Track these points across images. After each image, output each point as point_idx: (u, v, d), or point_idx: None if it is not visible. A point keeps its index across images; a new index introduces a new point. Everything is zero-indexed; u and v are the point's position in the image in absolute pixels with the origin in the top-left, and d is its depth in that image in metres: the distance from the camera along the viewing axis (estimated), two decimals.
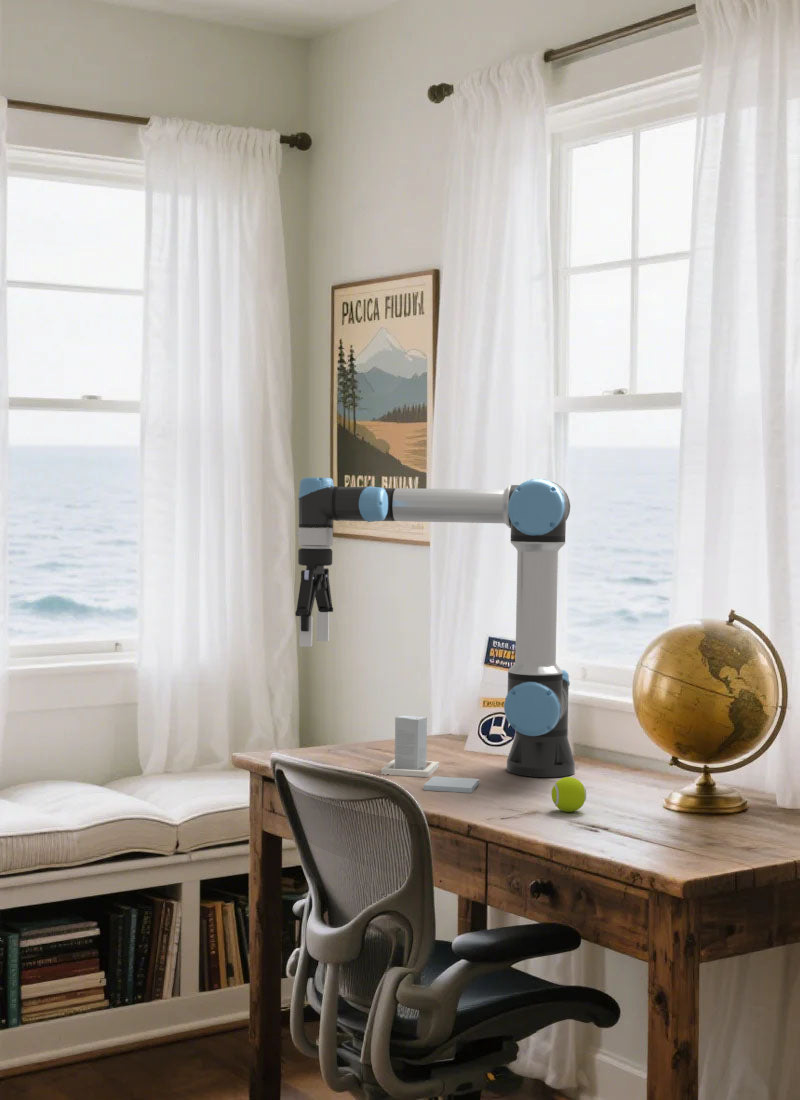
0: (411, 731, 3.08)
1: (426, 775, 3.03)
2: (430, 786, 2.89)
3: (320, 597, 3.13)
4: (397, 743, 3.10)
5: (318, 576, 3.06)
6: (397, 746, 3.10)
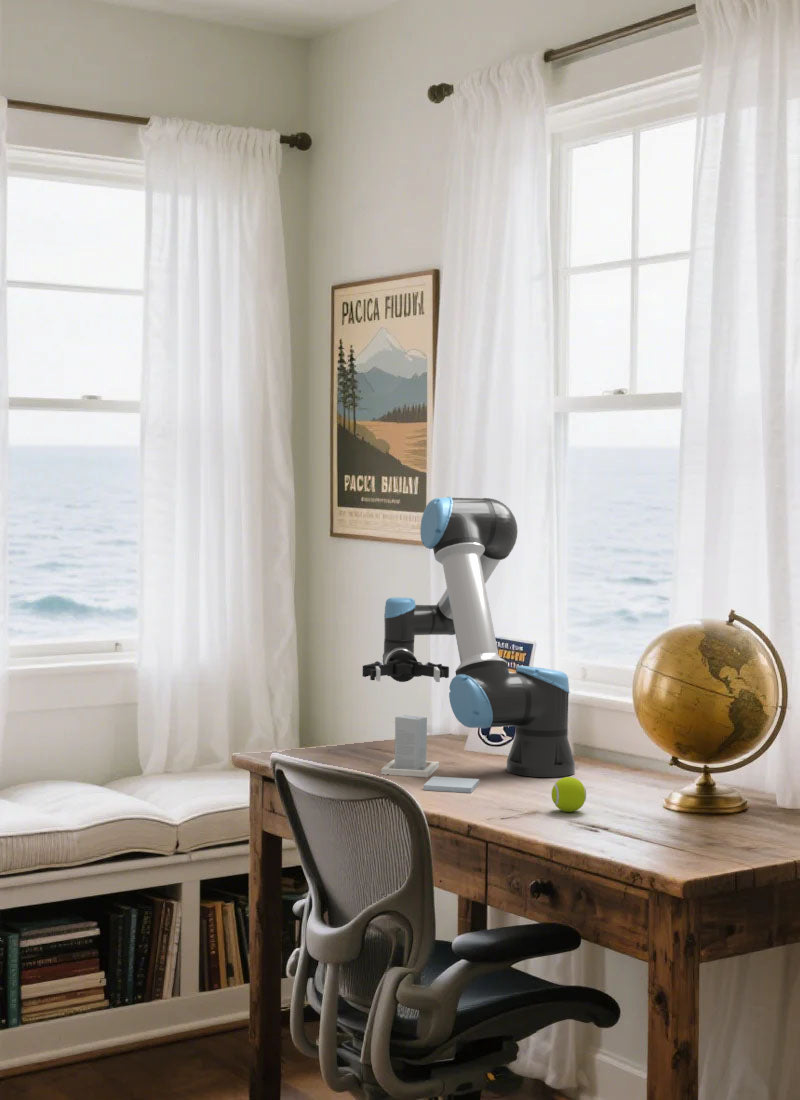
0: (411, 731, 3.08)
1: (426, 775, 3.03)
2: (430, 786, 2.89)
3: (424, 670, 3.30)
4: (397, 743, 3.10)
5: None
6: (397, 746, 3.10)
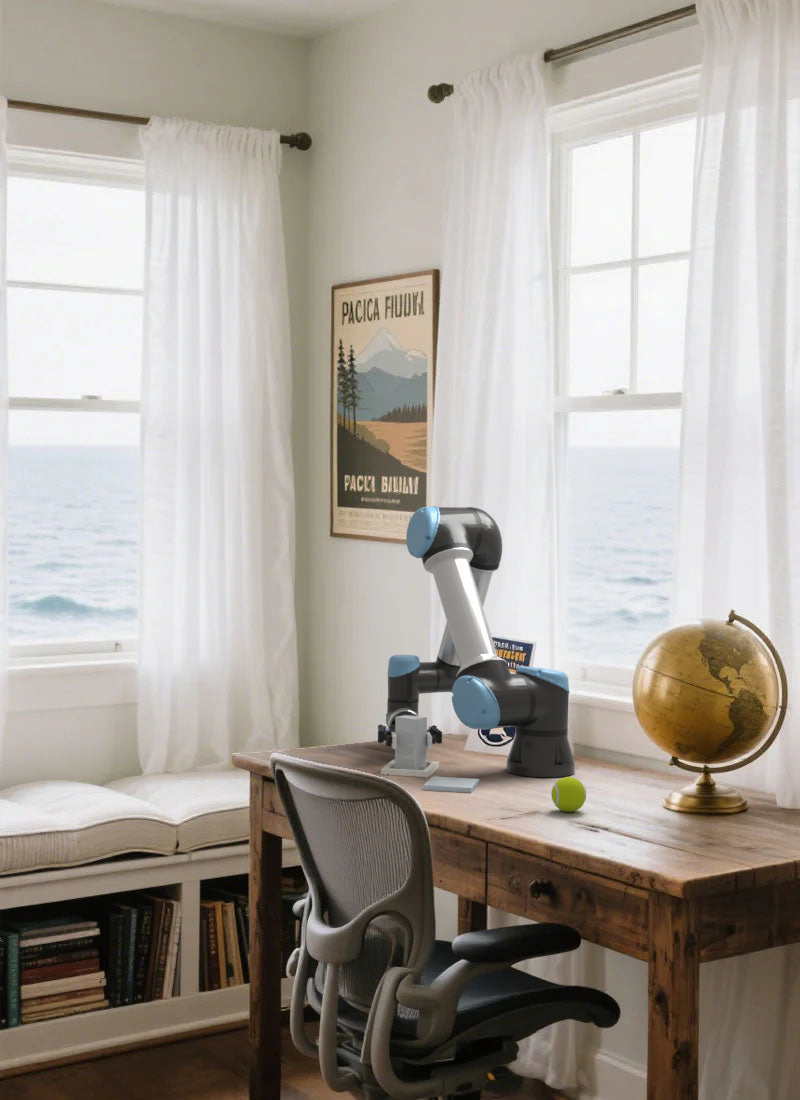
0: (411, 731, 3.08)
1: (426, 775, 3.03)
2: (430, 786, 2.89)
3: None
4: (397, 743, 3.10)
5: None
6: (397, 746, 3.10)
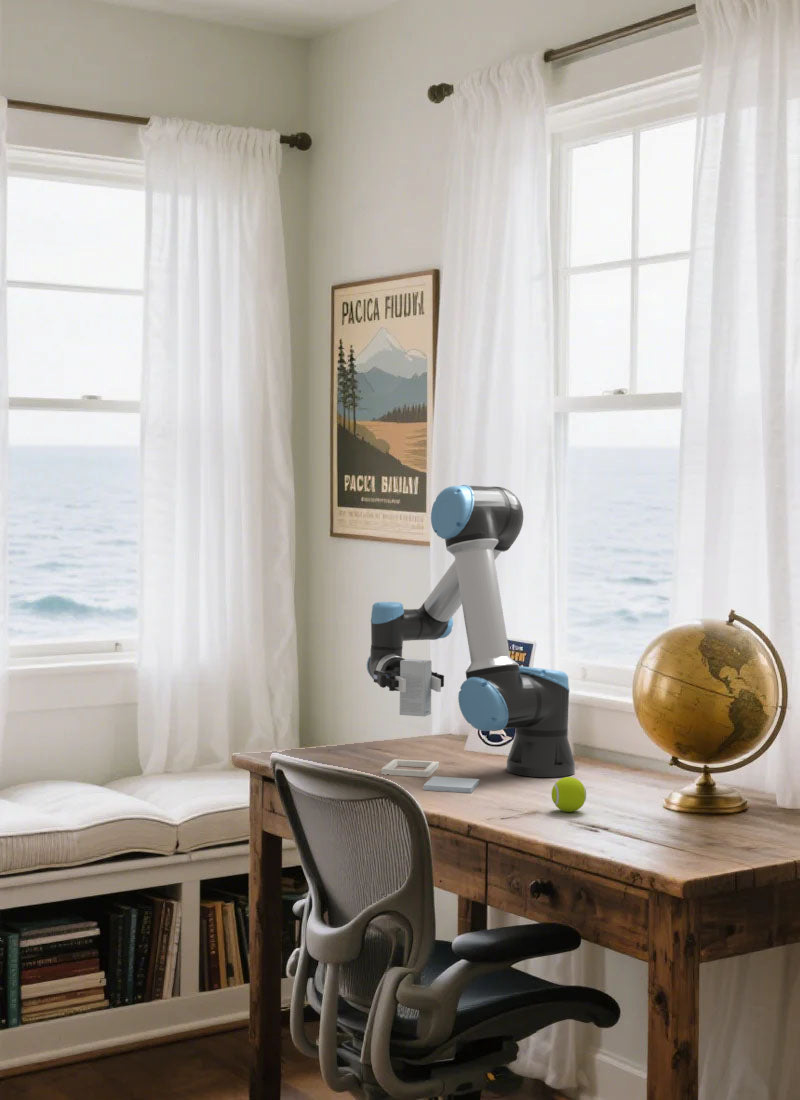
0: (418, 674, 3.04)
1: (426, 775, 3.03)
2: (430, 786, 2.89)
3: None
4: None
5: None
6: None
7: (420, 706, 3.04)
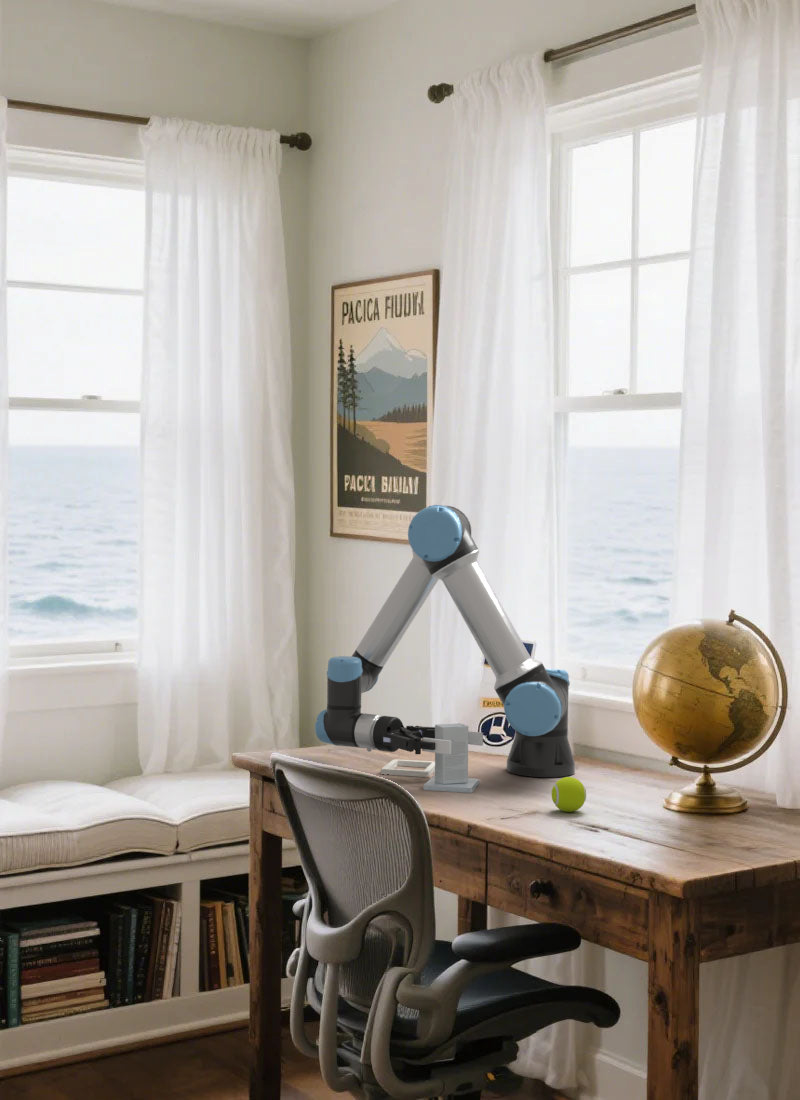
0: (461, 740, 2.91)
1: (426, 775, 3.03)
2: (430, 786, 2.89)
3: None
4: (445, 755, 2.90)
5: (400, 731, 2.97)
6: (446, 758, 2.90)
7: (464, 772, 2.92)
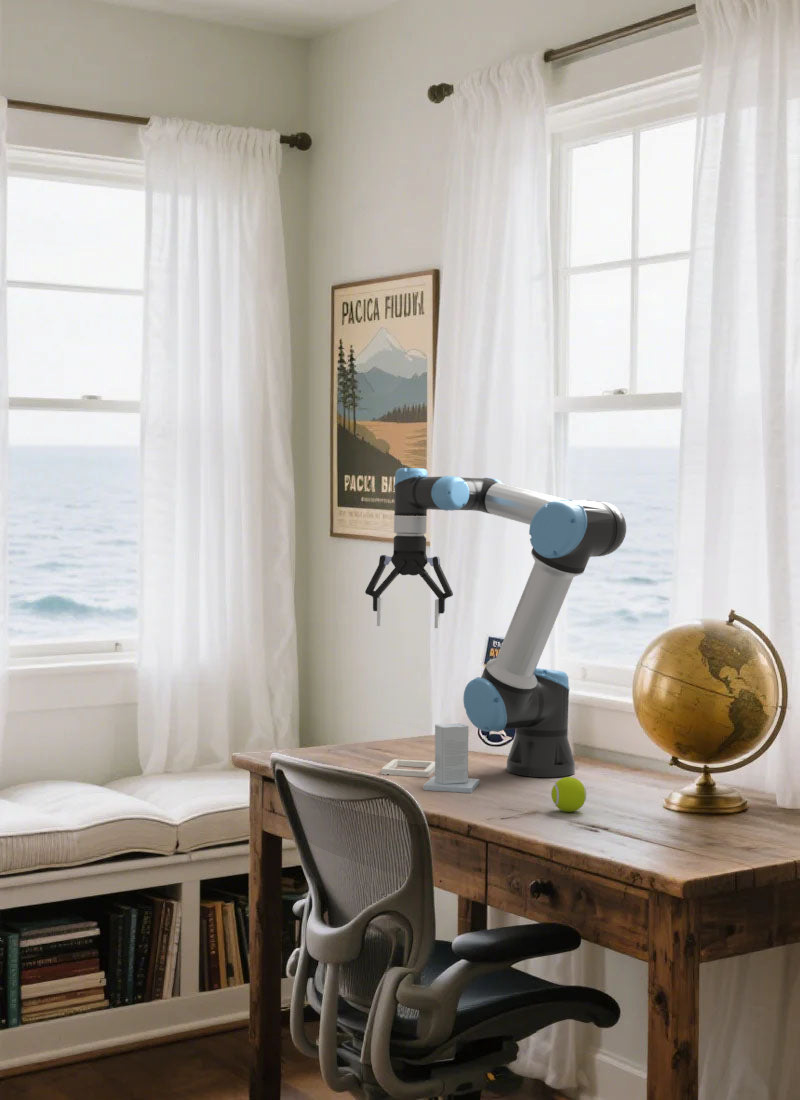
0: (461, 740, 2.91)
1: (426, 775, 3.03)
2: (430, 786, 2.89)
3: None
4: (445, 755, 2.90)
5: (400, 562, 3.23)
6: (446, 758, 2.90)
7: (464, 772, 2.92)
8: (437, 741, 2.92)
